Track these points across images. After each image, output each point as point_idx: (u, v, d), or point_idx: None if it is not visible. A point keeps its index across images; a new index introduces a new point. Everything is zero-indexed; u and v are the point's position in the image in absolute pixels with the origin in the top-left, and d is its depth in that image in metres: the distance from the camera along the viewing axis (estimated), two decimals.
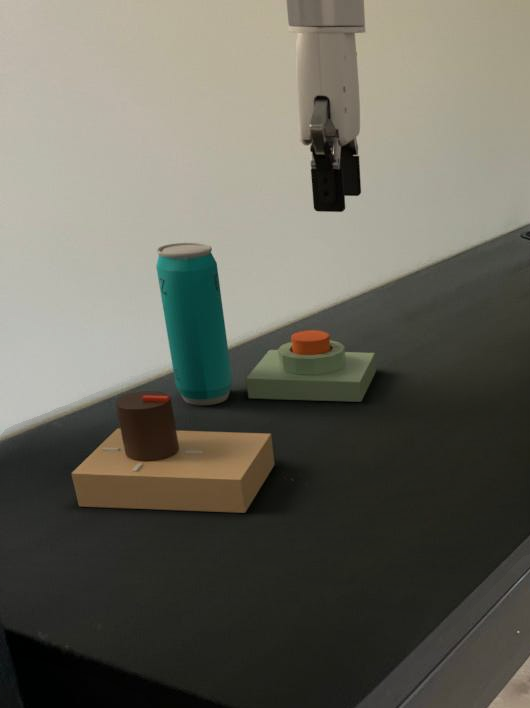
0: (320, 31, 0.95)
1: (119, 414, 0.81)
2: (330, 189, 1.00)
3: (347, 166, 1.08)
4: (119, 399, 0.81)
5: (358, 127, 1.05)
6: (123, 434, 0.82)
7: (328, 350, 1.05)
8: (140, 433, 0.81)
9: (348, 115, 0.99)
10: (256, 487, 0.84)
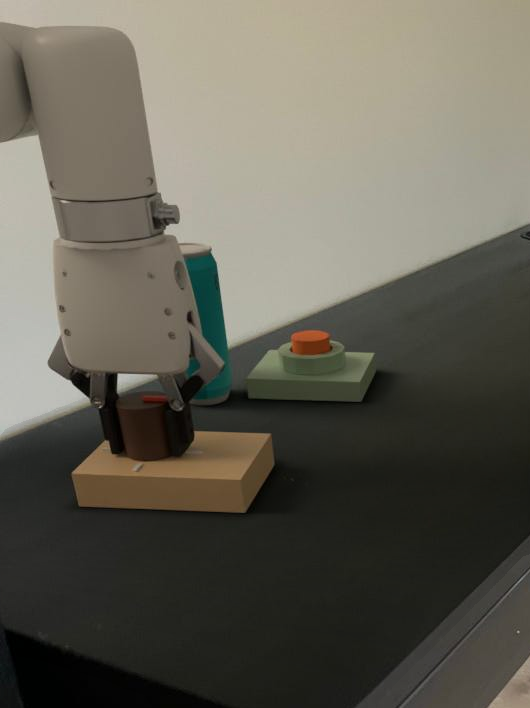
0: None
1: (119, 414, 0.81)
2: None
3: None
4: (119, 399, 0.81)
5: (160, 363, 0.77)
6: (123, 434, 0.82)
7: (328, 350, 1.05)
8: (140, 433, 0.81)
9: (81, 340, 0.77)
10: (256, 487, 0.84)
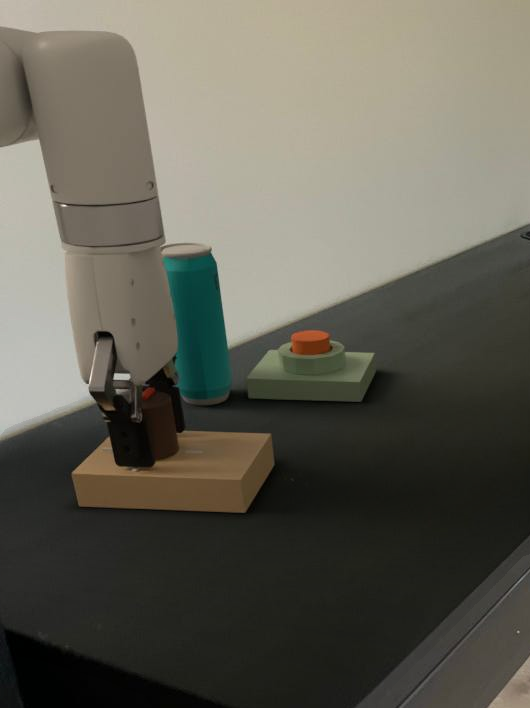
0: (95, 252, 0.72)
1: (156, 415, 0.80)
2: (131, 444, 0.79)
3: None
4: None
5: (172, 347, 0.82)
6: (160, 435, 0.81)
7: (328, 350, 1.05)
8: (173, 423, 0.83)
9: (145, 349, 0.76)
10: (256, 487, 0.84)
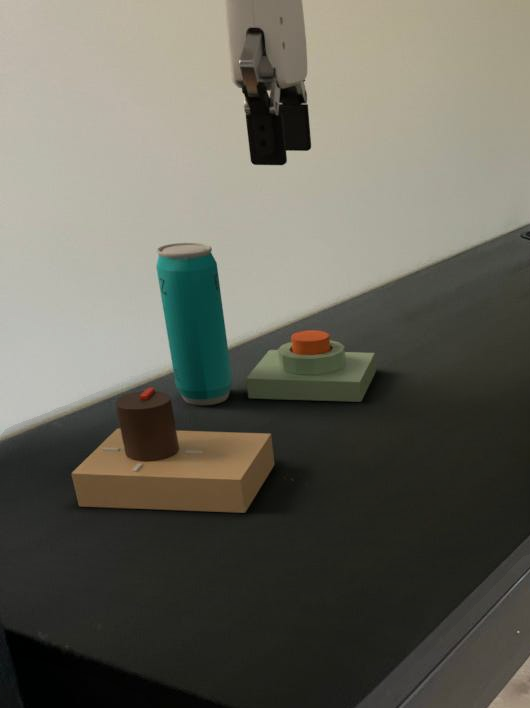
0: None
1: (156, 415, 0.80)
2: (268, 138, 0.87)
3: (294, 116, 0.95)
4: (137, 407, 0.80)
5: (304, 69, 0.92)
6: (160, 435, 0.81)
7: (328, 350, 1.05)
8: (173, 423, 0.83)
9: (288, 52, 0.86)
10: (256, 487, 0.84)
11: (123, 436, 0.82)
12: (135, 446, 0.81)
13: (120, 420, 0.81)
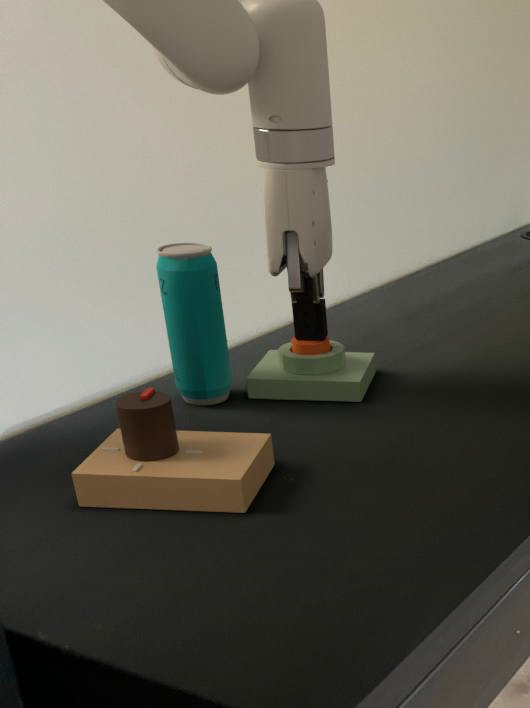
0: (287, 167, 0.93)
1: (156, 415, 0.80)
2: (310, 321, 1.03)
3: None
4: (137, 407, 0.80)
5: (330, 251, 1.03)
6: (160, 435, 0.81)
7: None
8: (173, 423, 0.83)
9: (318, 247, 0.97)
10: (256, 487, 0.84)
11: (123, 436, 0.82)
12: (135, 446, 0.81)
13: (120, 420, 0.81)
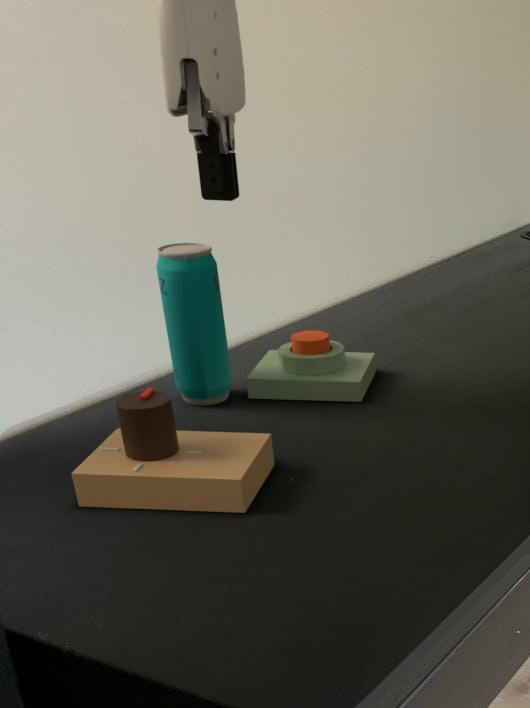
0: None
1: (156, 415, 0.80)
2: (218, 175, 0.92)
3: None
4: (137, 407, 0.80)
5: (241, 99, 0.92)
6: (160, 435, 0.81)
7: (328, 350, 1.05)
8: (173, 423, 0.83)
9: (223, 83, 0.86)
10: (256, 487, 0.84)
11: (123, 436, 0.82)
12: (135, 446, 0.81)
13: (120, 420, 0.81)
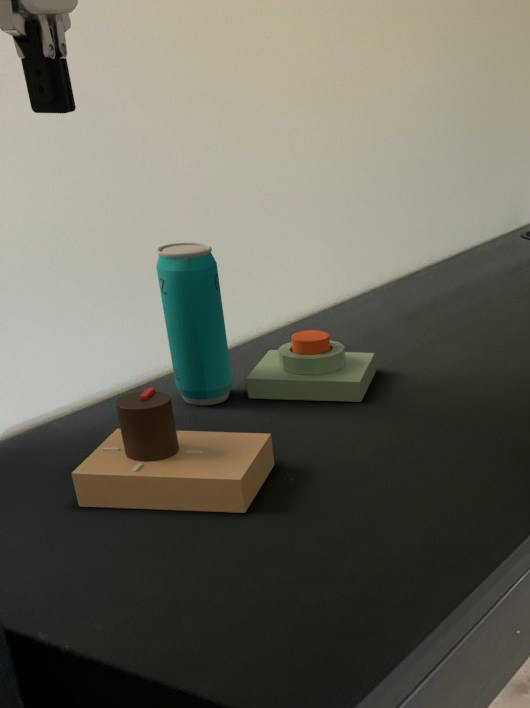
0: None
1: (156, 415, 0.80)
2: (45, 83, 0.82)
3: None
4: (137, 407, 0.80)
5: None
6: (160, 435, 0.81)
7: (328, 350, 1.05)
8: (173, 423, 0.83)
9: None
10: (256, 487, 0.84)
11: (123, 436, 0.82)
12: (135, 446, 0.81)
13: (120, 420, 0.81)
